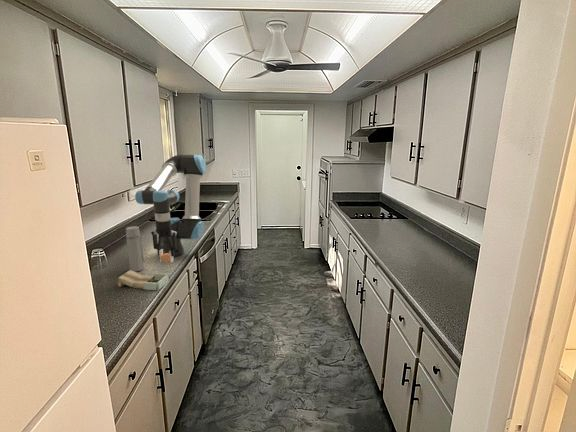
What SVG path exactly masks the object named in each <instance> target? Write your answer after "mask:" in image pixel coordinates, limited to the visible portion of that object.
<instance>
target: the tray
mask: <svg viewBox="0 0 576 432" xmlns="http://www.w3.org/2000/svg"><path fill="white" fill-rule="evenodd" d="M153 276H154V277H155V280H154V281H157V282H143V288H142V289H143V290H148V291H150V290H151V291H159V290H161V288H162V287H164V286H165V285H166V284H167V283H168V282H169V281H170V273H158V272H157V273H156V272H155V273H154V274H153Z"/></svg>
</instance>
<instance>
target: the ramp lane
mask: <svg viewBox="0 0 576 432" xmlns="http://www.w3.org/2000/svg"><path fill="white" fill-rule="evenodd" d="M155 281H156V280H155V277H154V275H149V274H148V275H146V274H142V273H140V272H138V271H137V272H134V271H132V270H130V269H129V270H127V272H125V273H123V274H122V275H120V276H119V277H118V278H117V287H119V288H122V287H123V286H124V285H125V286H128V287H131V288H135V289H143V282H152V283H154V282H155Z"/></svg>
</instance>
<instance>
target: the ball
mask: <svg viewBox="0 0 576 432" xmlns="http://www.w3.org/2000/svg"><path fill="white" fill-rule="evenodd" d="M161 259H162V262H163V263H170V256H169V254H168V253H165V254H163V255H162V257H161Z"/></svg>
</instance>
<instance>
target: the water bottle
mask: <svg viewBox="0 0 576 432" xmlns="http://www.w3.org/2000/svg"><path fill="white" fill-rule="evenodd" d="M125 238H126V245H127V246H126V247H127V254H128V262H129V265H128V266H129V270H132V271H134V272H137V273H138V272H141V271H142V270H143V269H144V262H147V261H146V260H147V259H144V255H145V257H147V254H146V250H145V246H144V244H142V243H144V241H143V235H142V234H141V231H140V227H139V226H137V225H136V226H128V227H126V228H125Z"/></svg>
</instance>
